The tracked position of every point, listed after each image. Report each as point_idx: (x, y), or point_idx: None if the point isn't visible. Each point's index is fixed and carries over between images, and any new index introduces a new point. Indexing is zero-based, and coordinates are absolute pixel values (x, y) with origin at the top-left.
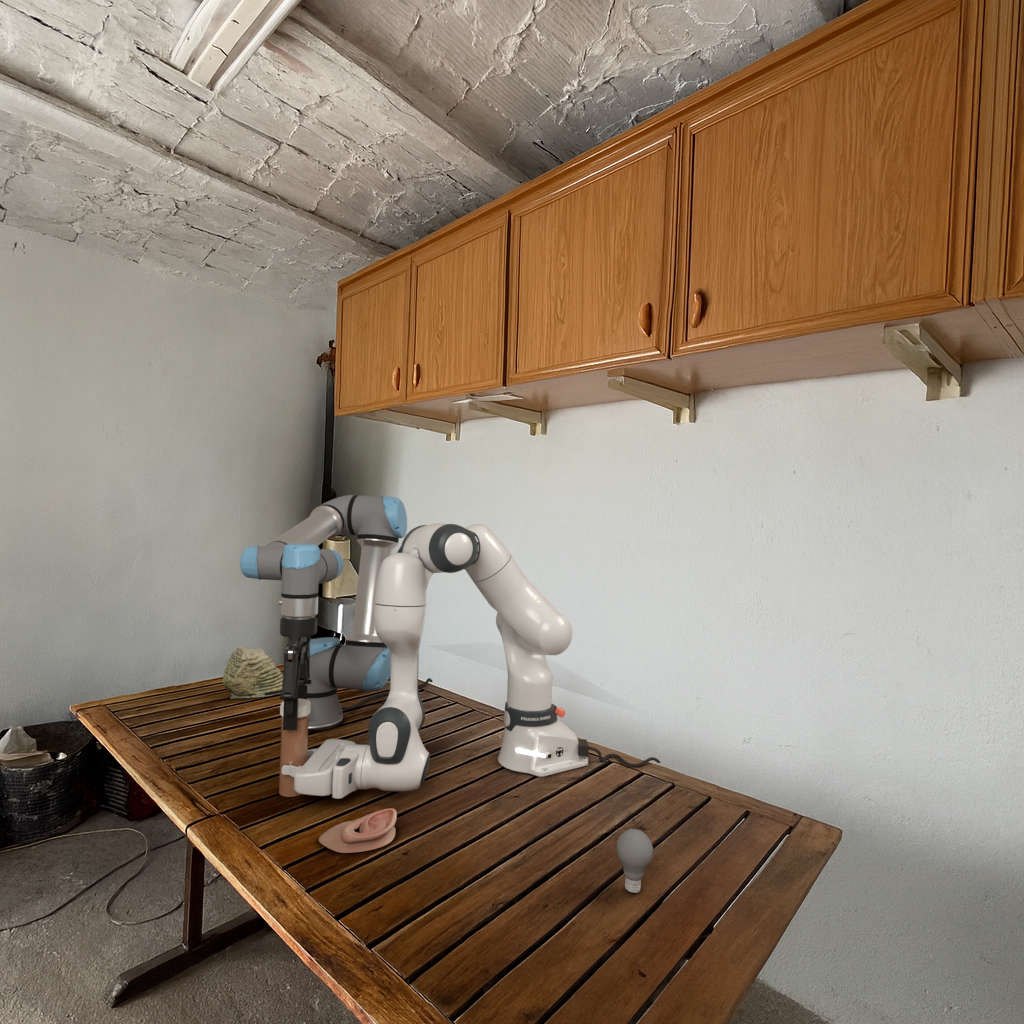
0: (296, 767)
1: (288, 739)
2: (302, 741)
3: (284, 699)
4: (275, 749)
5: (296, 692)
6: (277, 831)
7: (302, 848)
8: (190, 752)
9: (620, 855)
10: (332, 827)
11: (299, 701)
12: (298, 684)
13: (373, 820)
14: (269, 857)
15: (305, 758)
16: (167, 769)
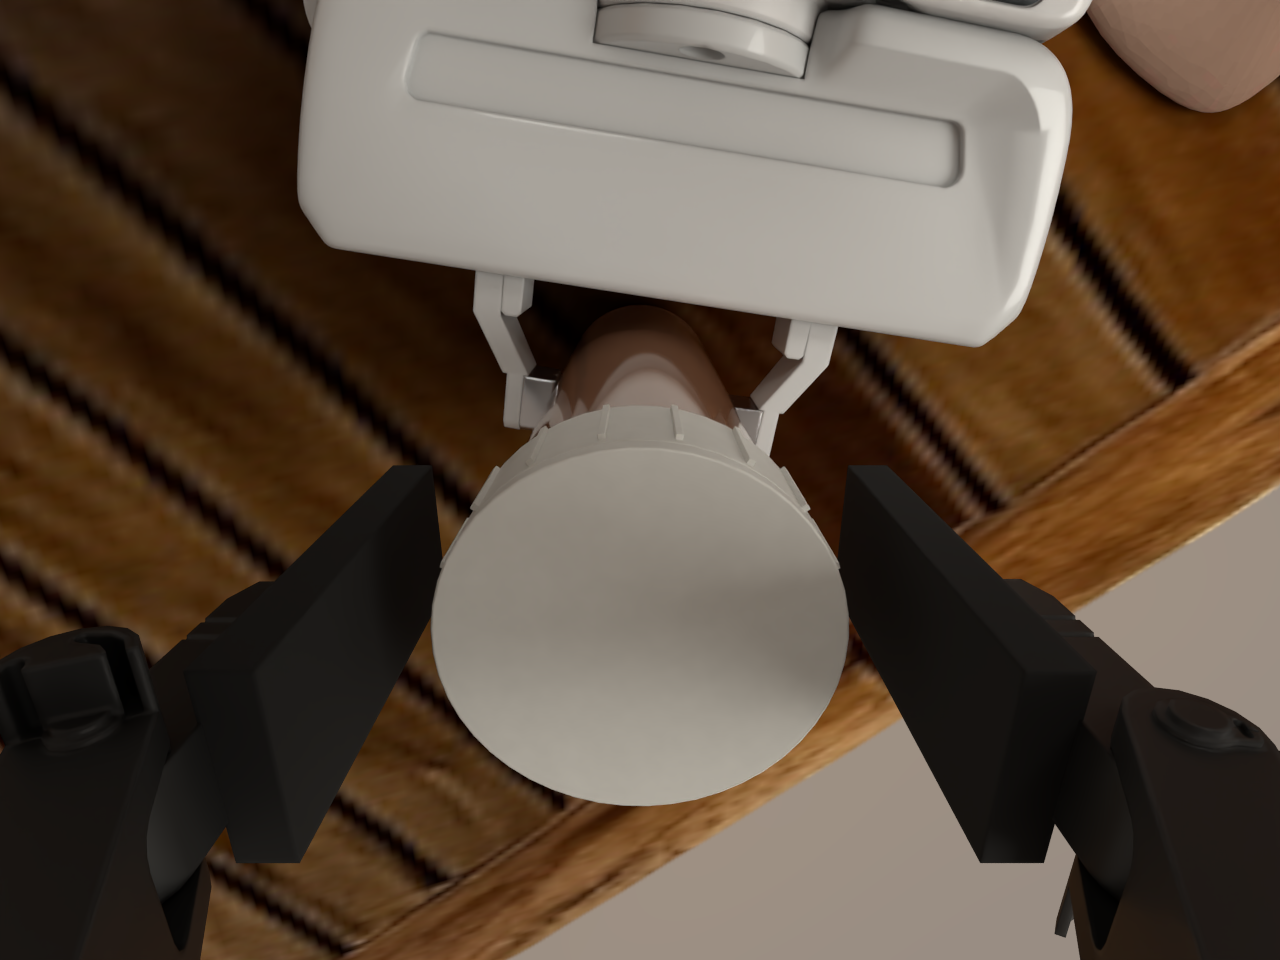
0: (810, 367)
1: None
2: (715, 387)
3: (1040, 846)
4: (141, 579)
5: (1254, 792)
6: (1051, 347)
7: (1247, 186)
8: (266, 891)
9: None
10: (1150, 44)
11: (567, 614)
12: (218, 825)
13: None
14: (1276, 325)
15: (668, 337)
16: (442, 908)
